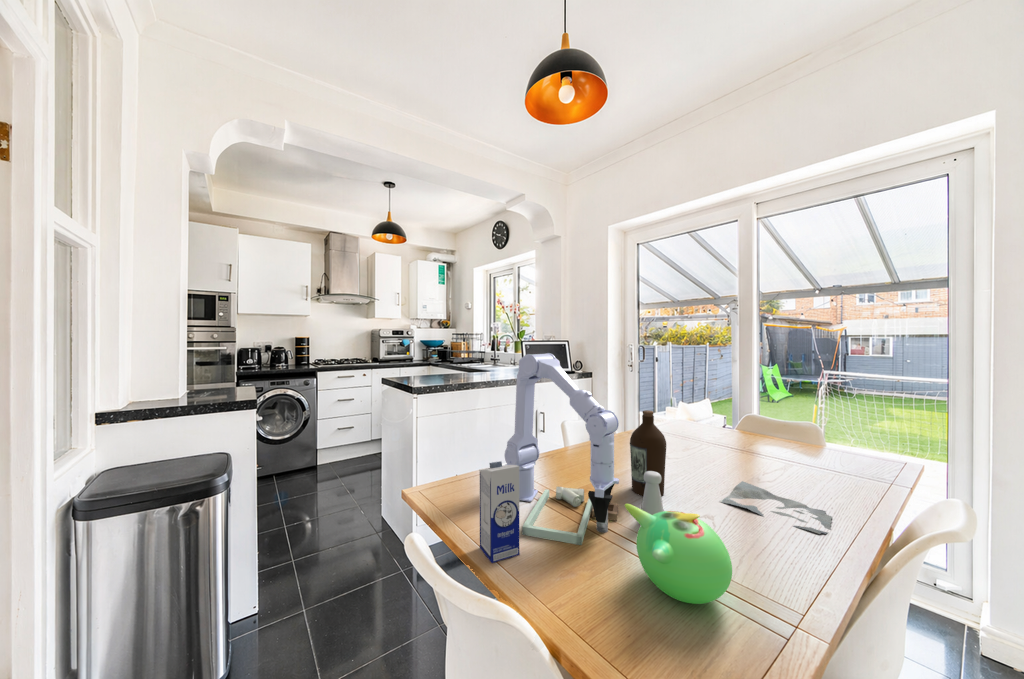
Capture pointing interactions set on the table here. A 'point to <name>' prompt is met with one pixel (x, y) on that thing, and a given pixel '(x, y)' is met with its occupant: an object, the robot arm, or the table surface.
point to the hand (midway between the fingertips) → (602, 514)
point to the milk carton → (499, 511)
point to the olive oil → (647, 453)
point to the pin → (602, 525)
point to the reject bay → (552, 533)
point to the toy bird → (682, 555)
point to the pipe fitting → (570, 495)
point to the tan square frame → (611, 515)
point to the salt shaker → (652, 493)
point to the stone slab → (754, 492)
